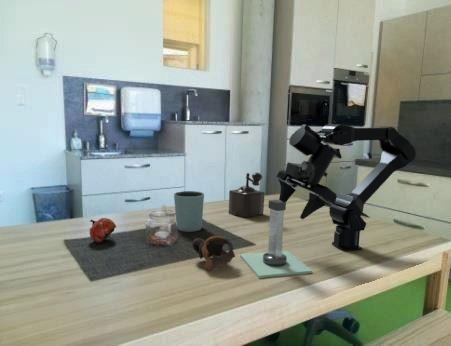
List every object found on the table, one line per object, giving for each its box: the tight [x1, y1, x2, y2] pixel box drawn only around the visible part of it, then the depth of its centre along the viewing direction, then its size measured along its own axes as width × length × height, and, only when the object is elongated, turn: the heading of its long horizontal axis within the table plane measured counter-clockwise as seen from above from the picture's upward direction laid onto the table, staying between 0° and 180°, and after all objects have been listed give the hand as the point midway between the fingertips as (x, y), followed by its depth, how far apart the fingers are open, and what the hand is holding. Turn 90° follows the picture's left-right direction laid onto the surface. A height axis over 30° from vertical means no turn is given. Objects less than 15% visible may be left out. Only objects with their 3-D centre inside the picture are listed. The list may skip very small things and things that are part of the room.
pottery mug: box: [191, 235, 236, 271], centre depth 91 cm, size 12×10×8 cm
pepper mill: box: [228, 172, 265, 219], centre depth 141 cm, size 16×11×18 cm
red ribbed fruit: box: [89, 217, 117, 244], centre depth 106 cm, size 7×7×10 cm
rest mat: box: [239, 250, 313, 279], centre depth 92 cm, size 14×14×1 cm
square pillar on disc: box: [263, 199, 287, 267], centre depth 91 cm, size 6×6×16 cm
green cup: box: [173, 190, 205, 233], centre depth 121 cm, size 10×10×12 cm
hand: (289, 212), depth 99 cm, fingers open, 9 cm apart
